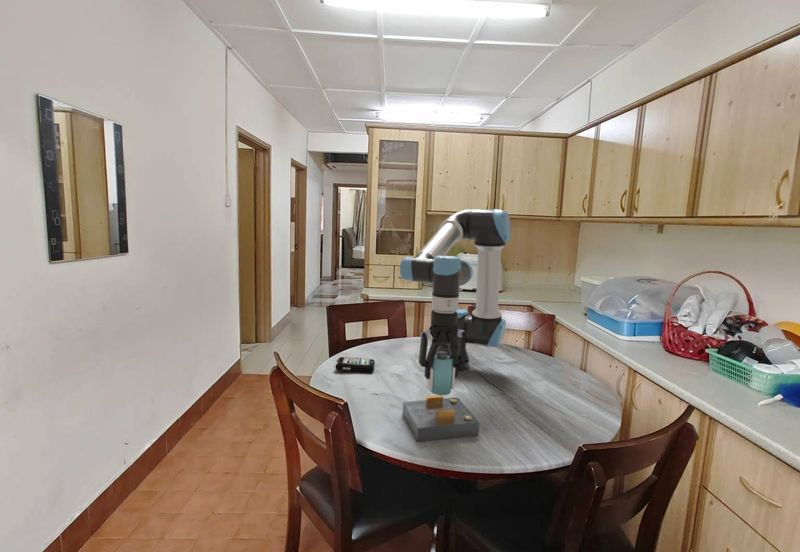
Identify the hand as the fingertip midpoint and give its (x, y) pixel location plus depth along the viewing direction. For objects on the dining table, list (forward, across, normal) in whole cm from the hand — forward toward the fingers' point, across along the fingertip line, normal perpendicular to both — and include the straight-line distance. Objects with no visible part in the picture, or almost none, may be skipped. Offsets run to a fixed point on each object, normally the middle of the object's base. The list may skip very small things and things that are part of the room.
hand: (440, 388), depth 118 cm
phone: (+12, -18, +49) cm, 53 cm away
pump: (+1, 0, 0) cm, 1 cm away
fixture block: (+11, 0, 0) cm, 11 cm away
